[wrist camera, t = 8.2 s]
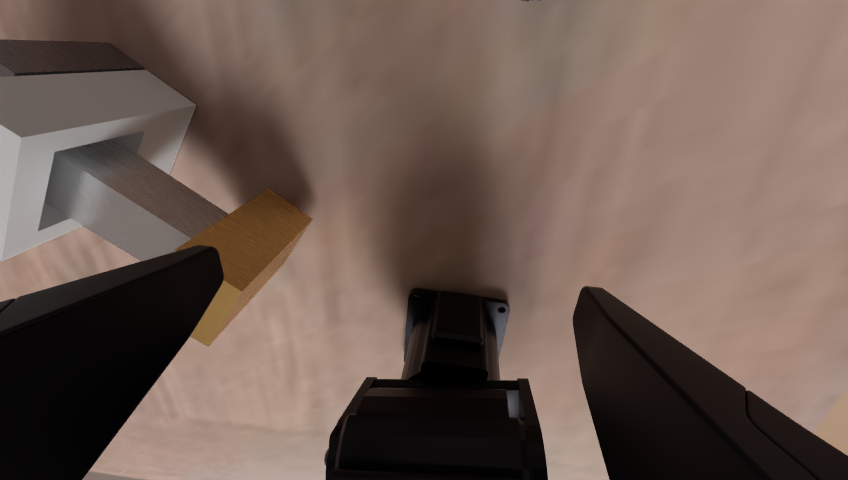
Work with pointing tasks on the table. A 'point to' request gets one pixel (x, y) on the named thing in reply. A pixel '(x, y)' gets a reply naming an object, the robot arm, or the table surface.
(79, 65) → the block
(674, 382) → the robot arm
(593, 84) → the table surface
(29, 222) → the block
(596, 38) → the table surface
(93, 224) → the shaft
